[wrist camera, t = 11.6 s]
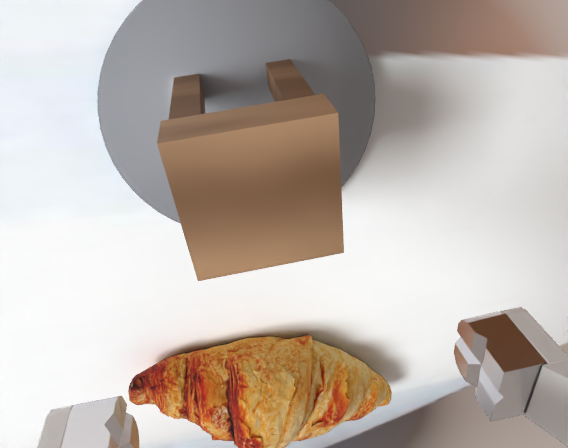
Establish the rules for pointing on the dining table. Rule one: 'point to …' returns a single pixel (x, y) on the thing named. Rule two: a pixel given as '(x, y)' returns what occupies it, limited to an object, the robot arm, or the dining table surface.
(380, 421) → the dining table surface
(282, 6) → the grey flat disc
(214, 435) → the croissant
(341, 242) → the stool
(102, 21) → the dining table surface
